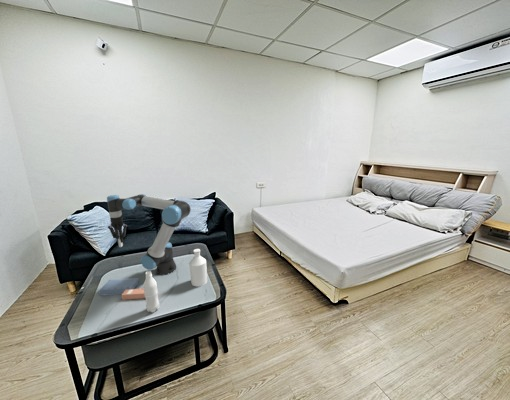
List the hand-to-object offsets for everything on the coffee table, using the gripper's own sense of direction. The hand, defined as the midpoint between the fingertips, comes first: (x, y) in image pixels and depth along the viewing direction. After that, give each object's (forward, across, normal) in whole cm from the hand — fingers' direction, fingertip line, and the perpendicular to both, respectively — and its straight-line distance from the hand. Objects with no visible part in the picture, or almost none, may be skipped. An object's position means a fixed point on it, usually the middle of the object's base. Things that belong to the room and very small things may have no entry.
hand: (121, 246), depth 161 cm
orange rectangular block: (+24, -21, +28) cm, 43 cm away
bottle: (+24, -58, +18) cm, 66 cm away
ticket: (+24, -4, +18) cm, 30 cm away
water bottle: (+24, -34, +43) cm, 60 cm away
